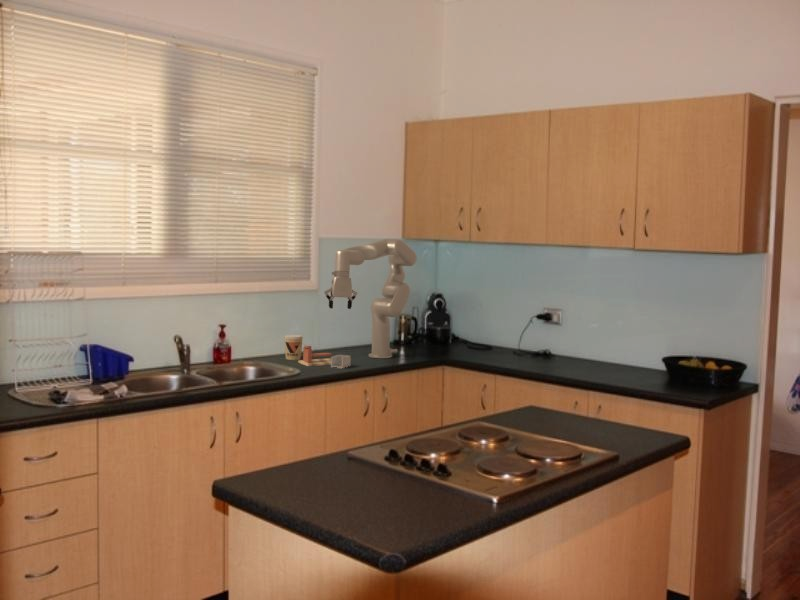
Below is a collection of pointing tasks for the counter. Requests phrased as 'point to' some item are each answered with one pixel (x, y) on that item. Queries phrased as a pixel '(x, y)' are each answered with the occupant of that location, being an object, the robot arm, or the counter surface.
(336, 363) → the coupler lock
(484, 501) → the counter surface
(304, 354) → the red toy hammer
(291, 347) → the coffee cup
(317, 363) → the birch board
